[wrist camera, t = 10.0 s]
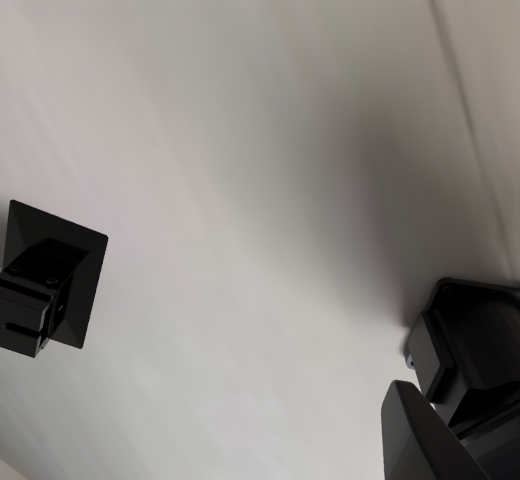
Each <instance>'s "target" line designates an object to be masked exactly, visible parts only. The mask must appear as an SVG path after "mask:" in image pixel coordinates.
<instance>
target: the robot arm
mask: <svg viewBox="0 0 520 480" xmlns="http://www.w3.org/2000/svg"><path fill="white" fill-rule="evenodd" d="M446 286H450V287H449V288H448V289H443V288H444V287H446ZM408 348H409V350H408V352H407V354H406V357H405V361H406V365H407V367H408V368H410V369H414V370H415V371H416V375H417V378H418V382H419V385H420V388H421V392H422V393H421V392H420V391H419V390H418V388H417V387H416V386H415V385H414V384H413V383H411V382H407V381H401V380H393V381H392V382H391V384H390V386H389V389H388V391H387V394H386V396H385V399H384V401H383V404H382V408H381V423H382V441H383V458H384V475H385V480H520V289H517V288H510V287H504V286H497V285H491V284H484V283H478V282H471V281H465V280H458V279H452V278H443V279H441V280H439V281H438V282H437V283H436V285H435V288H434V290H433V292H432V295H431V297H430V300H429V302H428V304H427V307H426V309H425V310H423V311H422V312H421V313H420V315H419V318H418V320H417V322H416V325H415V327H414V330H413V332H412V334H411V337H410V339H409V342H408ZM430 403H432V404H434V407H435V410H436V411H435V410H434V408H433V407H432V406H431V405H430Z"/></svg>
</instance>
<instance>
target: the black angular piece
mask: <svg viewBox="0 0 520 480" xmlns="http://www.w3.org/2000/svg"><path fill="white" fill-rule="evenodd" d="M107 243H108V236H107V235H104V234H102V233H99V232H97V231H94V230H91V229H89V228H86V227H84V226H81V225H78V224H76V223H73V222H71V221H68V220H65V219H63V218H60V217H57V216H55V215H52V214H50V213H47V212H44V211H42V210H39V209H37V208H34V207H31V206H29V205H26V204H23V203H21V202H18V201H16V200H10V205H9V215H8V224H7V233H6V242H5V251H4V261H3V270H2V272H1V273H0V347H2V348H5V349H8V350H11V351H14V352H17V353H20V354H23V355H26V356H29V357H32V358H35V357H36V355H37V354H38V353H39V351H40V350H41V349H43V348H44V347H45V346H46V344H47V343H48V341H49V340H50V339H52V340H55V341H58V342H61V343H64V344H67V345H70V346H73V347H76V348H79V349H82V348H83V344H84V340H85V336H86V331H87V327H88V323H89V319H90V315H91V310H92V306H93V302H94V298H95V293H96V289H97V285H98V281H99V276H100V272H101V268H102V264H103V260H104V255H105V251H106V247H107Z"/></svg>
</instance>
